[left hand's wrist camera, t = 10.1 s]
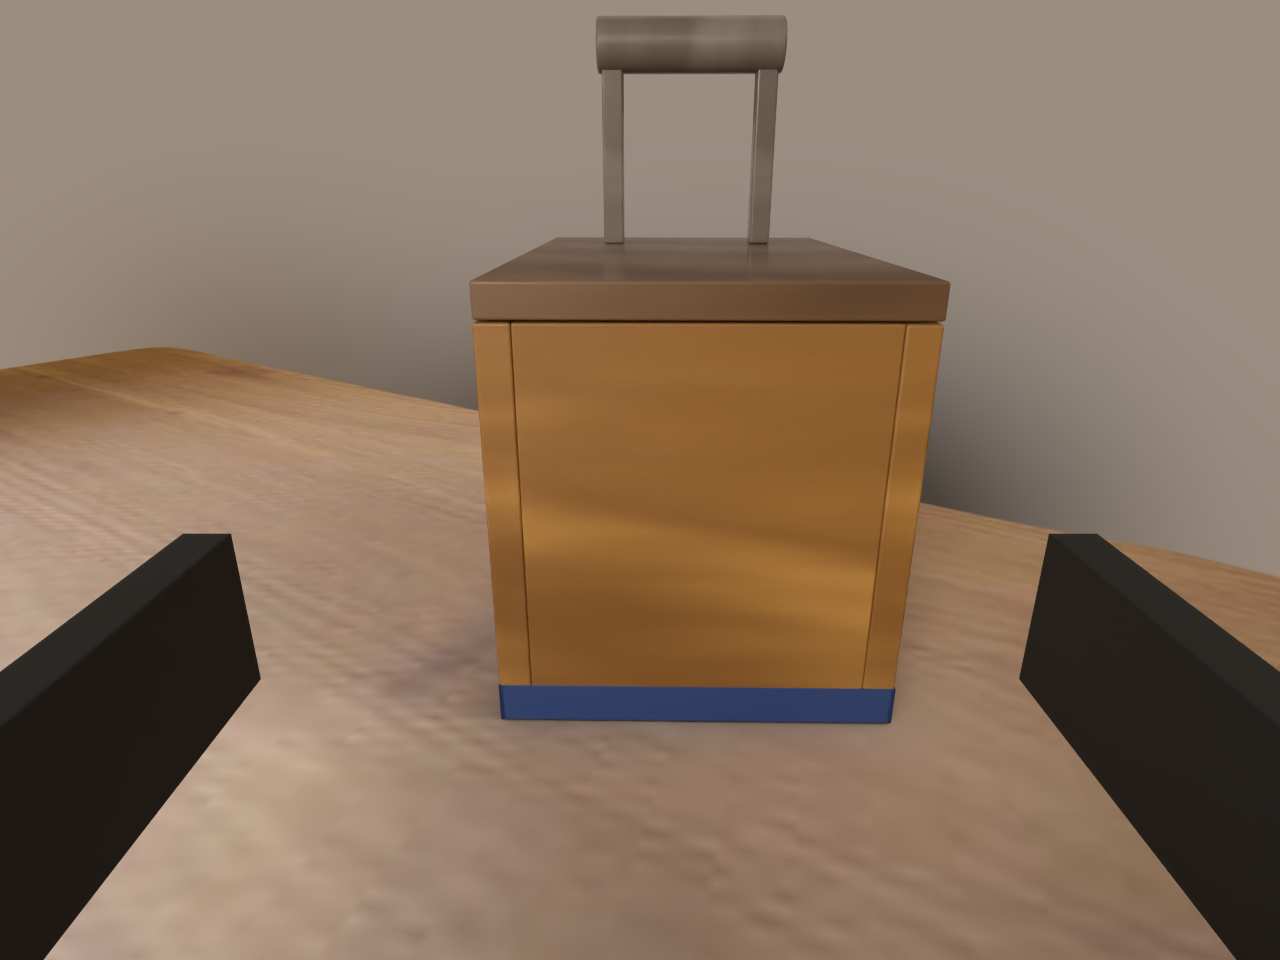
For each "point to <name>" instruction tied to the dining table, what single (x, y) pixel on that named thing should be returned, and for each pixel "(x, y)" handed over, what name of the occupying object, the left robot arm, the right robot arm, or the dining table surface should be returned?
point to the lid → (699, 267)
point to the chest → (702, 514)
